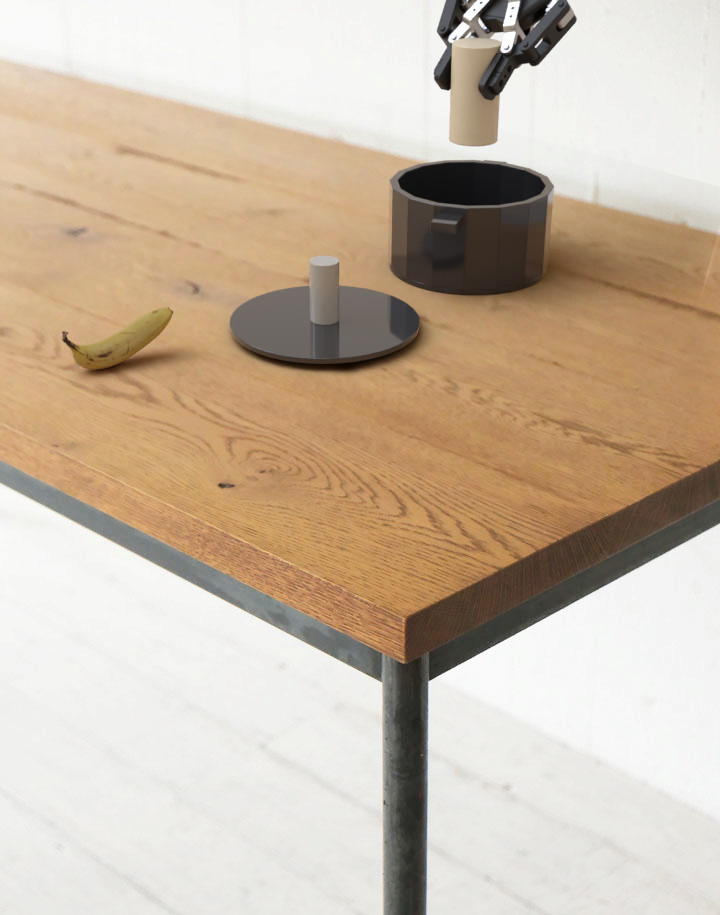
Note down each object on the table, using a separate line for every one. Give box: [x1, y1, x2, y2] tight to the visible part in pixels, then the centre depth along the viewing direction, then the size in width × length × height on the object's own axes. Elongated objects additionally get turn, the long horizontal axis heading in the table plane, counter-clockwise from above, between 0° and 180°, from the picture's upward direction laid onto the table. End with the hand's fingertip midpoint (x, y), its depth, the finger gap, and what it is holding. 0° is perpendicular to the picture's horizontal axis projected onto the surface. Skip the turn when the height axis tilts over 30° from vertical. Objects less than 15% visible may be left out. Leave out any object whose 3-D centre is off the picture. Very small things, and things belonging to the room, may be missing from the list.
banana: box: [61, 307, 174, 371], centre depth 113 cm, size 10×2×4 cm, turn 126°
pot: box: [387, 159, 555, 296], centre depth 132 cm, size 16×21×8 cm
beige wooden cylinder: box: [448, 37, 502, 147], centre depth 126 cm, size 5×5×9 cm
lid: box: [228, 255, 421, 365], centre depth 118 cm, size 17×17×7 cm
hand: (462, 89), depth 124 cm, fingers closed on beige wooden cylinder, 4 cm apart
